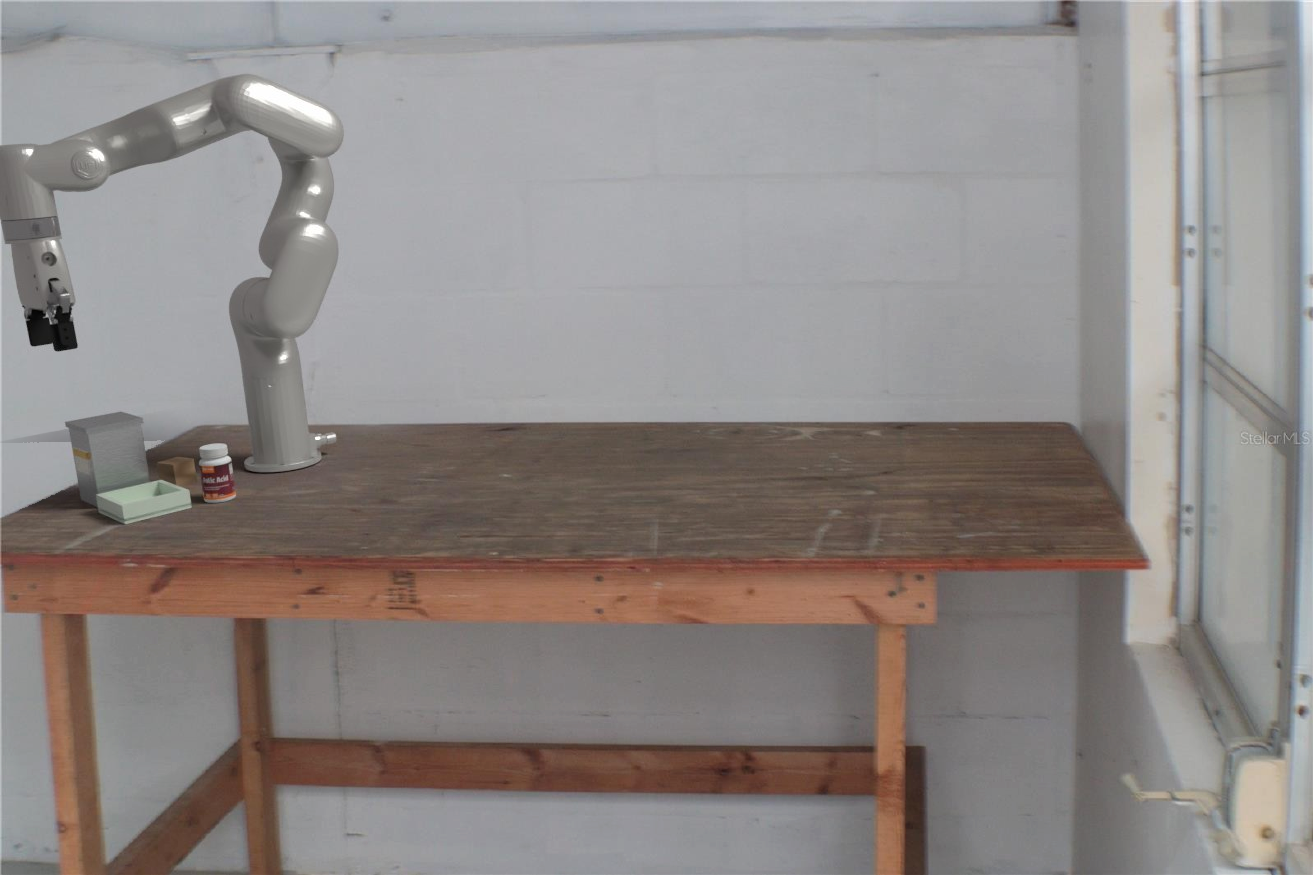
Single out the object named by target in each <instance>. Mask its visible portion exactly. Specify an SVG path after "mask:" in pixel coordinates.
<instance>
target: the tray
mask: <svg viewBox="0 0 1313 875" xmlns="http://www.w3.org/2000/svg"><path fill="white" fill-rule="evenodd" d="M96 499H97V505H98V507H97V508H98V509H97V510H98V513H100V514H101V515H103V516H106V517H107V518H110V519H113V521H114V520H115V521H117V522H119V523H121V524H123V525H128V524H132V523H136V522H140V521H143V520H148V519H153V518H156V517H160V516H164V515H169V514H172V513H177V512H180V511H184V510H188V509H192V507H193V506H192V500H191V499H192V498H191V494H190V489H188V488H185V487H184V486H183V487H180V486H177V485H174V484H172V483H169V482H166V481H164V480H159V479H158V480H155V481H150V482H149V483H145V484H140V485H136V486H131V487H127V488H123V489H118V490H114V491H109V492H105V493H101V494H96Z"/></svg>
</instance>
